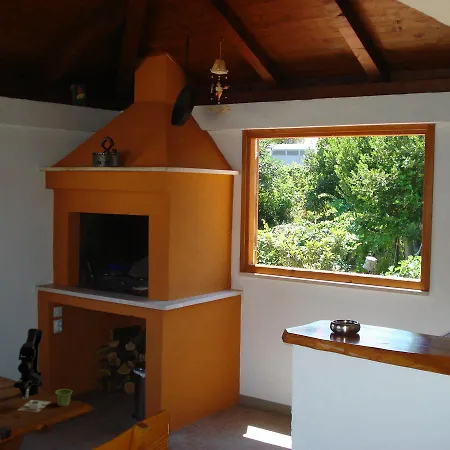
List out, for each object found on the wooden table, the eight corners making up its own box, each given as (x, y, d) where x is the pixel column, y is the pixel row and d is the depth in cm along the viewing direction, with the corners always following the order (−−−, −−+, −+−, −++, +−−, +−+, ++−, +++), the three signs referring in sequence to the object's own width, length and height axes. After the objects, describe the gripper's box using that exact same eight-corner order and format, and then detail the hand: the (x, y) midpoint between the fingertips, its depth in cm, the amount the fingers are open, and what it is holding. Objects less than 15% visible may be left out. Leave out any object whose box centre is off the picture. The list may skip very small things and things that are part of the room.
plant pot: (75, 405, 354) (75, 390, 354) (64, 410, 346) (65, 395, 345) (62, 402, 358) (62, 388, 358) (51, 407, 350) (51, 392, 349)
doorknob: (23, 397, 345) (24, 384, 345) (29, 398, 345) (30, 384, 345) (21, 399, 342) (21, 386, 342) (27, 400, 341) (27, 386, 341)
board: (31, 402, 356) (31, 399, 356) (51, 404, 355) (51, 401, 355) (17, 412, 338) (17, 409, 338) (38, 414, 337) (38, 411, 337)
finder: (32, 405, 345) (33, 400, 345) (41, 406, 345) (41, 401, 344) (28, 408, 340) (29, 403, 340) (37, 409, 340) (37, 403, 339)
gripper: (33, 374, 333) (32, 402, 333) (47, 365, 351) (46, 392, 352) (13, 372, 334) (12, 400, 334) (28, 363, 352) (27, 390, 353)
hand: (25, 396), depth 343 cm, fingers closed on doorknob, 3 cm apart
